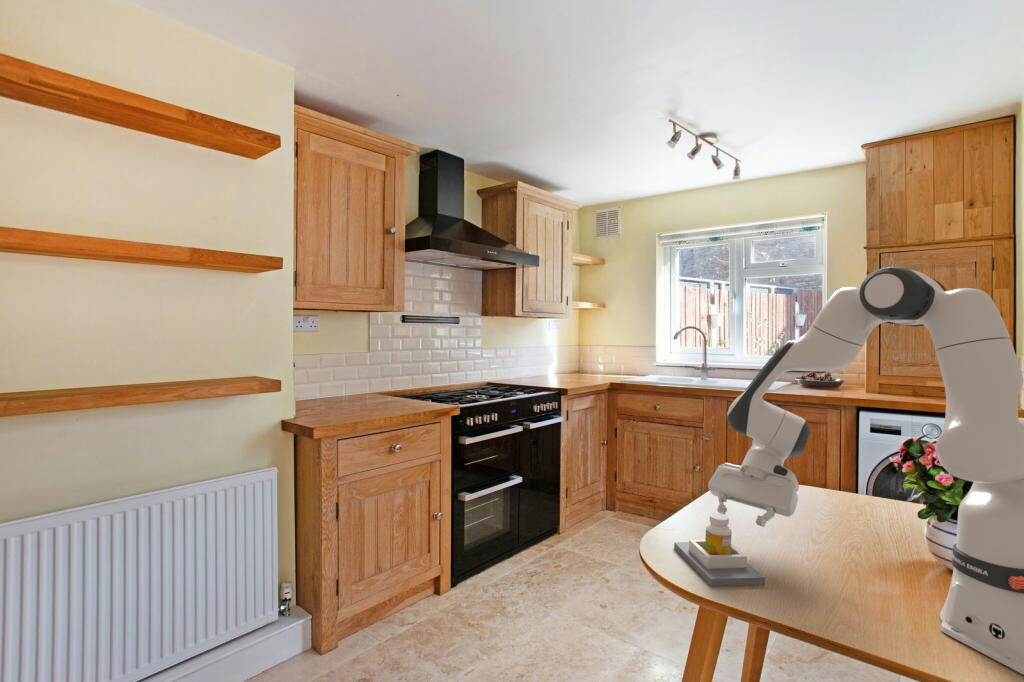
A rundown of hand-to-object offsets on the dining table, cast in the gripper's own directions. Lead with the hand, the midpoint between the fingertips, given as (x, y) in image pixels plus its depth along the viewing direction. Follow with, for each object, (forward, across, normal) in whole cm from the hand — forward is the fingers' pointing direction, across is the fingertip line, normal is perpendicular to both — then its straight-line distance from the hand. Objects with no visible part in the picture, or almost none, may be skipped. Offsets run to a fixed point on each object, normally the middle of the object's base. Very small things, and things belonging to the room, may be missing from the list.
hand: (739, 518), depth 127 cm
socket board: (+13, 0, -1) cm, 13 cm away
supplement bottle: (+12, 0, -2) cm, 12 cm away
